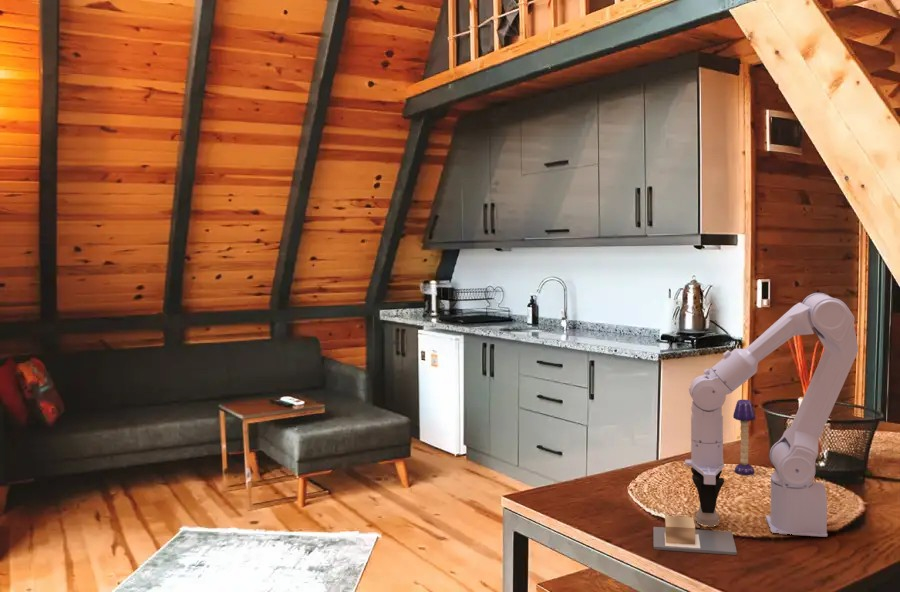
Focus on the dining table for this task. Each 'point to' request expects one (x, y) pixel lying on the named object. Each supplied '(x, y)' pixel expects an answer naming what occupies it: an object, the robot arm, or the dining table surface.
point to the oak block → (679, 530)
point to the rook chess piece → (707, 518)
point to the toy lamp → (744, 434)
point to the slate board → (698, 542)
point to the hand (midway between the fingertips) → (707, 508)
